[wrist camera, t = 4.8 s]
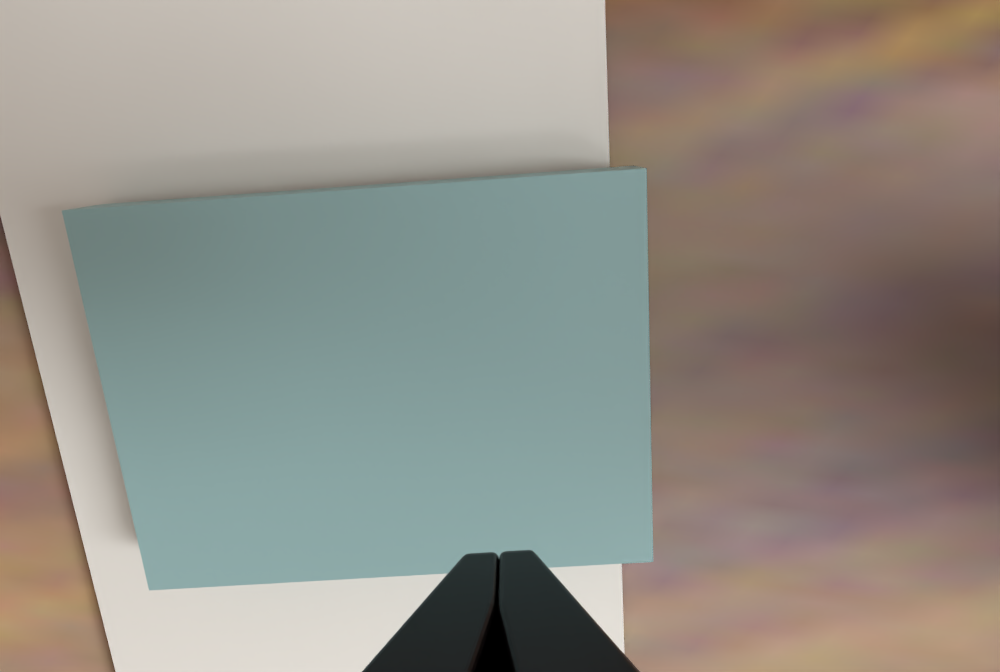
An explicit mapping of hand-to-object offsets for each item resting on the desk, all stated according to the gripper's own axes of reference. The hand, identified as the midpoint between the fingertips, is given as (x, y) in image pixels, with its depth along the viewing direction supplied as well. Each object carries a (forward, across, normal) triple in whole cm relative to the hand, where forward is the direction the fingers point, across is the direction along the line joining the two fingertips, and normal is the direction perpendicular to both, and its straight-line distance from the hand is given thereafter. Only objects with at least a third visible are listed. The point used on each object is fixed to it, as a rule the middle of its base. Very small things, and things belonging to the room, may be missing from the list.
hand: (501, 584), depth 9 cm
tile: (+8, -3, 0) cm, 9 cm away
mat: (+9, +4, 0) cm, 10 cm away
